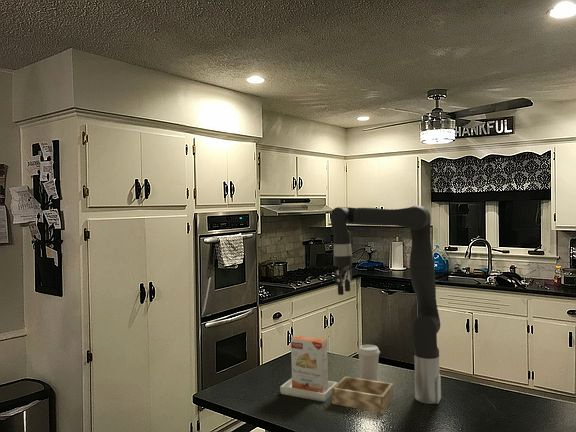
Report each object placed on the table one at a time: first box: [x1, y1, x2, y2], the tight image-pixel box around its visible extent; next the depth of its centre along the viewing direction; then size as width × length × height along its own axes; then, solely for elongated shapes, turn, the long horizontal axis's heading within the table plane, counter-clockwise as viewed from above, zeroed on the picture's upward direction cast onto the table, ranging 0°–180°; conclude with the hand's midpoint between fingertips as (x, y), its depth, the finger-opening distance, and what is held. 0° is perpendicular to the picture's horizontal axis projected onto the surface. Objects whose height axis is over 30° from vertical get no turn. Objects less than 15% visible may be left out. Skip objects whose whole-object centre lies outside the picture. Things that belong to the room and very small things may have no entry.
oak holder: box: [331, 376, 395, 414], centre depth 183 cm, size 20×14×6 cm
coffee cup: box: [357, 344, 381, 381], centre depth 203 cm, size 10×10×15 cm
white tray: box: [279, 377, 339, 403], centre depth 194 cm, size 20×14×3 cm
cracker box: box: [290, 335, 329, 393], centre depth 193 cm, size 14×6×21 cm, turn 62°
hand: (344, 292), depth 199 cm, fingers open, 8 cm apart
